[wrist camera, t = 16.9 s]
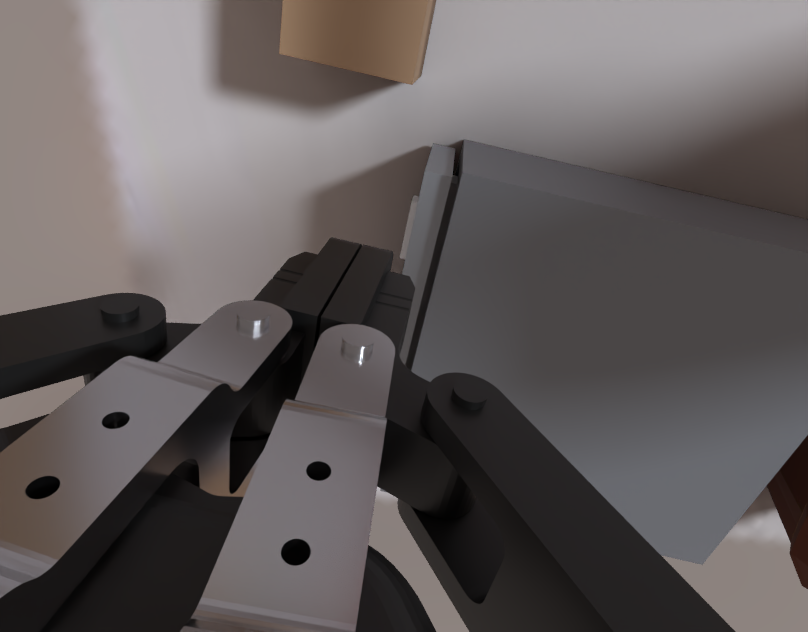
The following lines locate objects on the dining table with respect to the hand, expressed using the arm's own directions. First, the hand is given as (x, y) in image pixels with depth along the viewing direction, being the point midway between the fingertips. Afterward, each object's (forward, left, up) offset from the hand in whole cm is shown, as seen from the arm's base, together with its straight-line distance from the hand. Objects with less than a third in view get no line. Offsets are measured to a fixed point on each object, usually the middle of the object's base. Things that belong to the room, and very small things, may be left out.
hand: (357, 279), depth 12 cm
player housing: (-10, +7, -13) cm, 18 cm away
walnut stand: (+3, -6, -13) cm, 14 cm away
